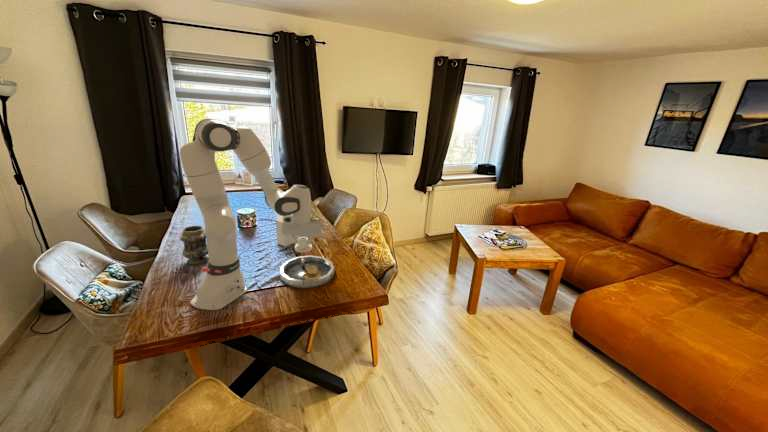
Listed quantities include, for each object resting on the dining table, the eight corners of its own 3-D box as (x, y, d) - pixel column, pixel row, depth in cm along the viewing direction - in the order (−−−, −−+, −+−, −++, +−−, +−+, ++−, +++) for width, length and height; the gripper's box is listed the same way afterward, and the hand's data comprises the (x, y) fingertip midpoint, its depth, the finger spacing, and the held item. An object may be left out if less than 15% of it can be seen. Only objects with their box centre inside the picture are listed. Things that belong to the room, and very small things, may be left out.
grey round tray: (322, 292, 137) (322, 278, 135) (269, 283, 141) (268, 269, 139) (340, 265, 161) (341, 253, 159) (294, 257, 165) (294, 245, 163)
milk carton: (285, 247, 176) (283, 216, 170) (277, 243, 180) (275, 213, 173) (294, 243, 182) (293, 213, 176) (286, 239, 186) (285, 210, 179)
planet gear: (309, 253, 148) (308, 243, 147) (292, 252, 149) (291, 241, 147) (314, 245, 156) (313, 235, 154) (298, 244, 157) (297, 234, 155)
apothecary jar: (207, 253, 163) (203, 222, 157) (214, 262, 155) (210, 229, 149) (181, 259, 155) (175, 227, 149) (187, 269, 147) (181, 235, 141)
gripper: (325, 216, 149) (325, 242, 154) (284, 213, 150) (285, 239, 155) (321, 221, 143) (322, 247, 148) (279, 218, 144) (281, 244, 149)
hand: (303, 243), depth 151 cm, fingers closed on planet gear, 5 cm apart
